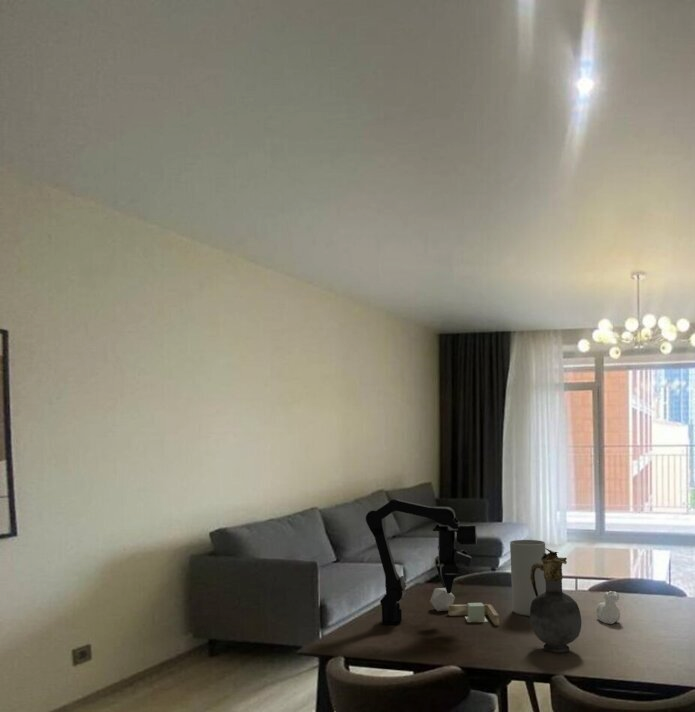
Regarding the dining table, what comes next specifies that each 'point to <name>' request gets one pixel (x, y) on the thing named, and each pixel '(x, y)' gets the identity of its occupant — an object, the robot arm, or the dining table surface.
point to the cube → (476, 612)
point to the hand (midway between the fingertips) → (447, 590)
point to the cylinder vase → (525, 573)
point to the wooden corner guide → (464, 611)
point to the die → (441, 599)
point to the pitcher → (554, 607)
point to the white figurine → (609, 608)
